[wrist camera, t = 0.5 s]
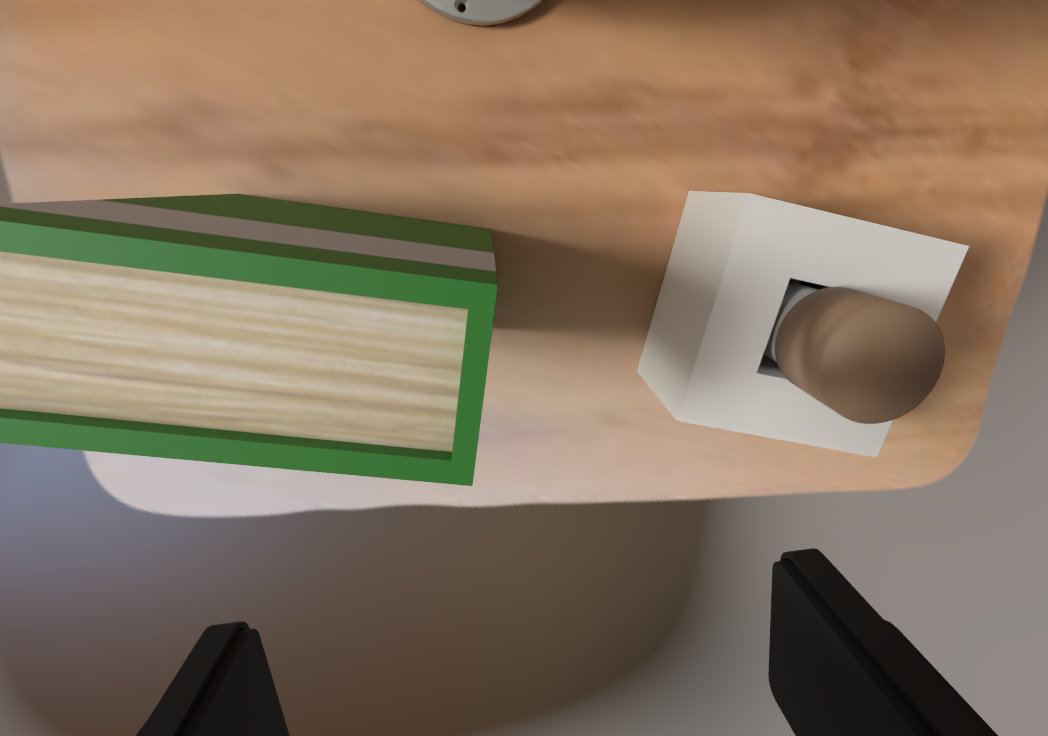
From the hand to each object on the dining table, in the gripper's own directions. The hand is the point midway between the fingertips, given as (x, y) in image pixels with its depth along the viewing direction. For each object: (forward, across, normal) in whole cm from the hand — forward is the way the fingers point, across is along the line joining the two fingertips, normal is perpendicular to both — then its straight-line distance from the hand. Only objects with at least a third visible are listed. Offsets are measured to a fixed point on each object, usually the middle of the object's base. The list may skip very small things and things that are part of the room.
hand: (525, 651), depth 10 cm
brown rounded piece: (+33, -19, +2) cm, 39 cm away
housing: (+34, -19, +2) cm, 39 cm away
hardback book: (+34, +9, -4) cm, 36 cm away
